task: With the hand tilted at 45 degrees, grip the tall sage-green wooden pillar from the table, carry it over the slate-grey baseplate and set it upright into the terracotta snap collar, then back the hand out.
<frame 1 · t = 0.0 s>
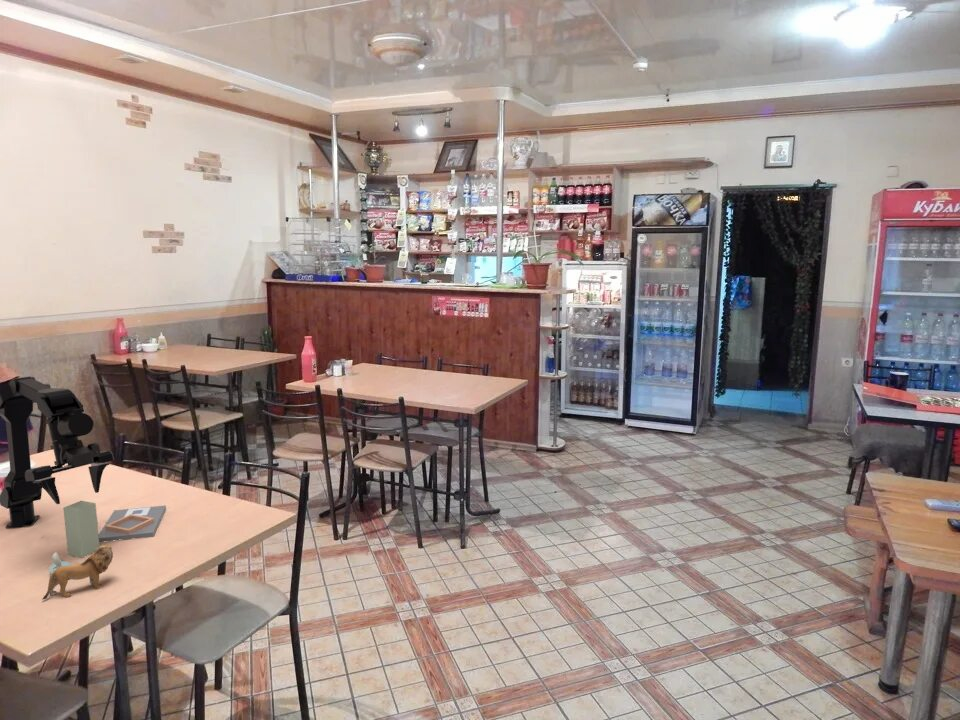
hand: (78, 498, 158), 15 cm above the table, tool pointing down, fingers open, 9 cm apart
lion figurine: (82, 589, 145), on the table
pillar: (84, 552, 162), on the table
pacifier: (64, 576, 151), on the table
snap collar: (130, 529, 175), resting on baseplate
baseplate: (133, 524, 179), on the table
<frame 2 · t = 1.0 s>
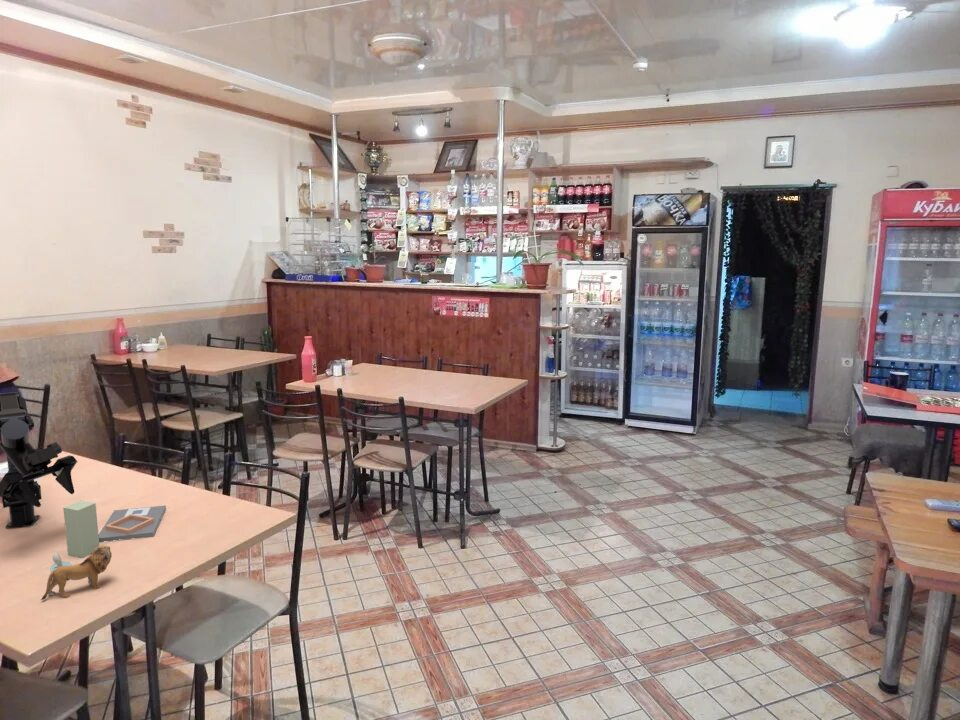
hand: (56, 499, 162), 13 cm above the table, tool tilted 45°, fingers open, 9 cm apart
nothing on the table moved.
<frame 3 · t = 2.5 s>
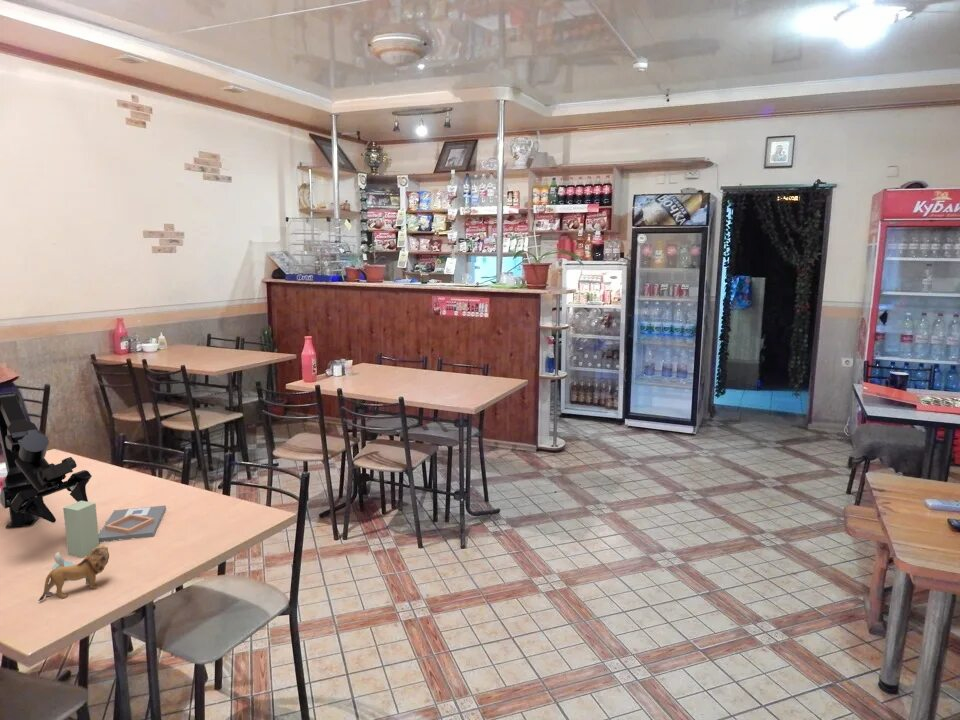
hand: (71, 514, 161), 10 cm above the table, tool tilted 45°, fingers open, 9 cm apart
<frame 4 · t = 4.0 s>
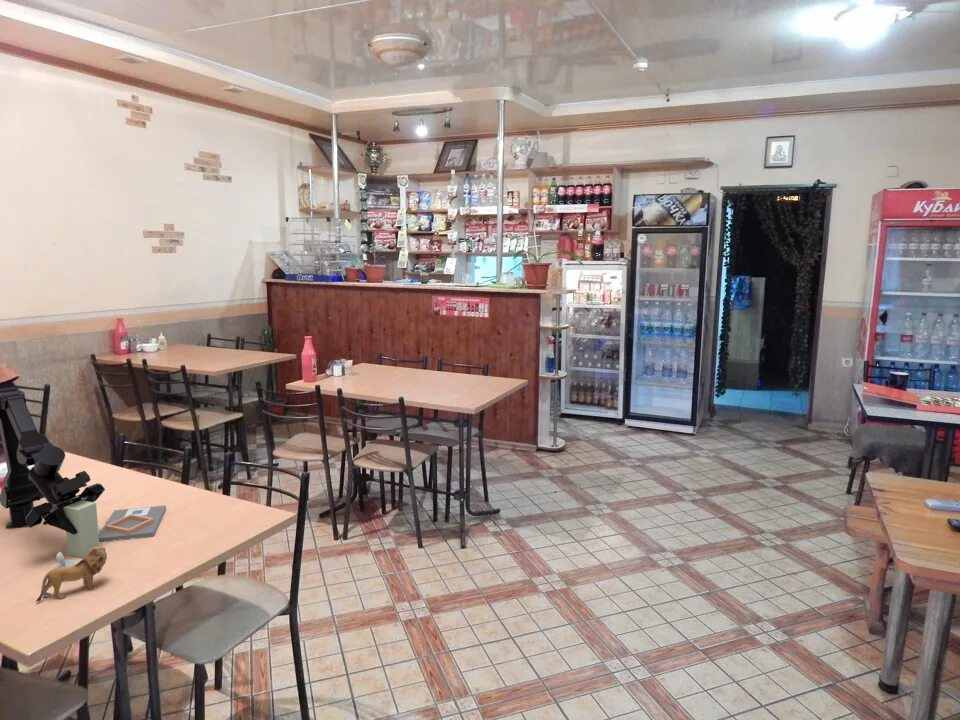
hand: (85, 529, 161), 7 cm above the table, tool tilted 45°, fingers closed on pillar, 5 cm apart
pillar: (84, 552, 162), on the table, touching gripper
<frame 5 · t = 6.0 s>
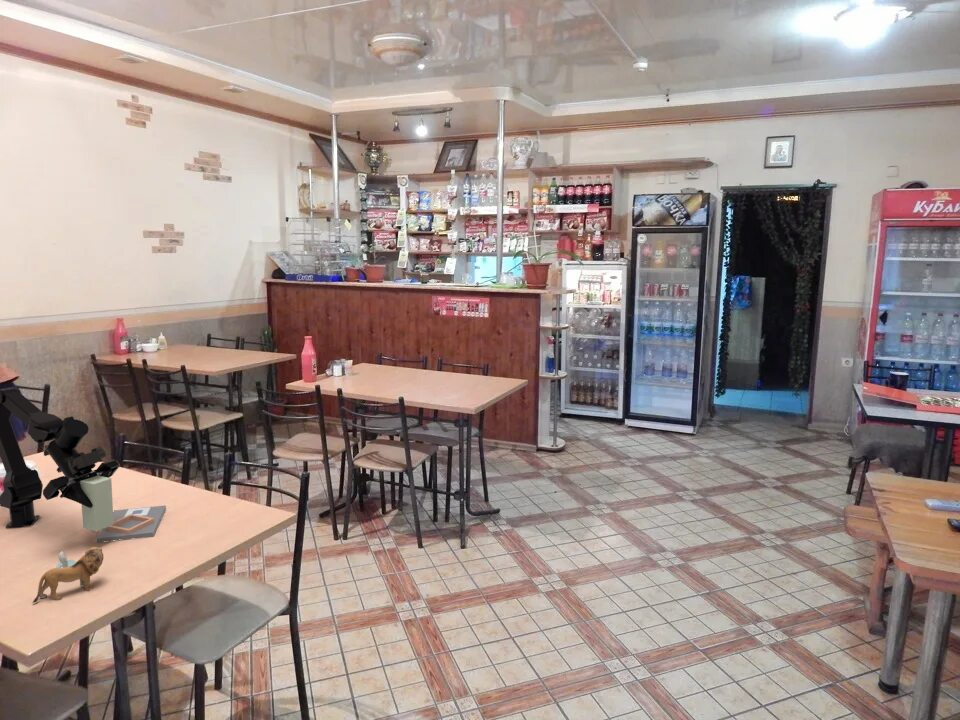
hand: (101, 503, 164), 12 cm above the table, tool tilted 45°, fingers closed on pillar, 5 cm apart
pillar: (98, 526, 166), point 5 cm above the table, touching gripper
when the fingers open (9 cm above the table, at t = 7.7 s): pillar drops 1 cm, resting on baseplate.
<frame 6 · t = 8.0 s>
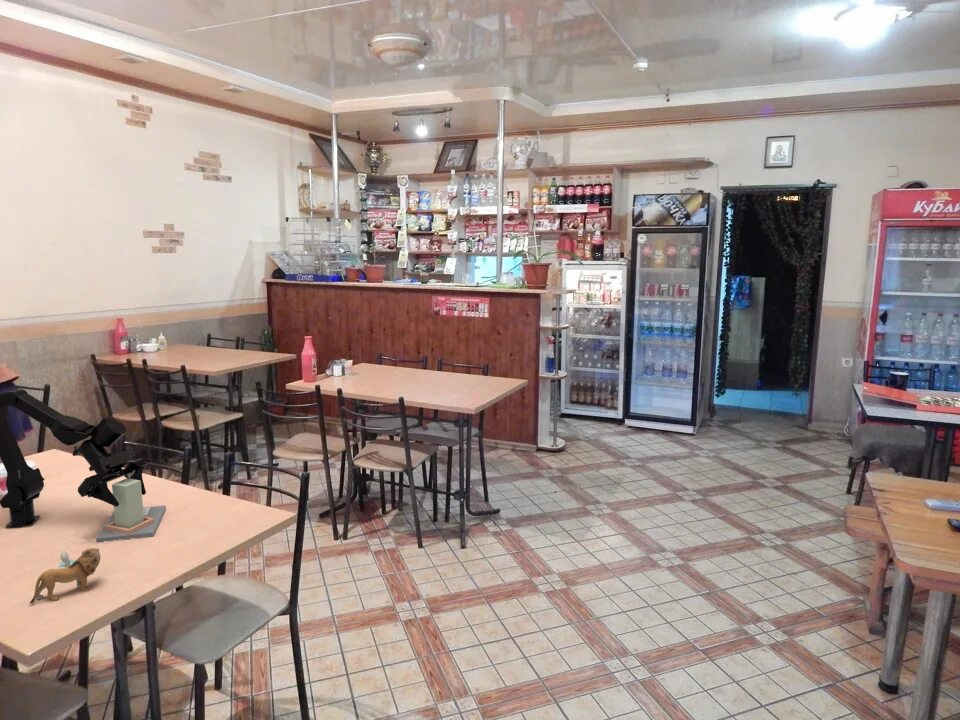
hand: (131, 499, 173), 9 cm above the table, tool tilted 45°, fingers open, 9 cm apart
pillar: (130, 525, 175), point 1 cm above the table, touching baseplate
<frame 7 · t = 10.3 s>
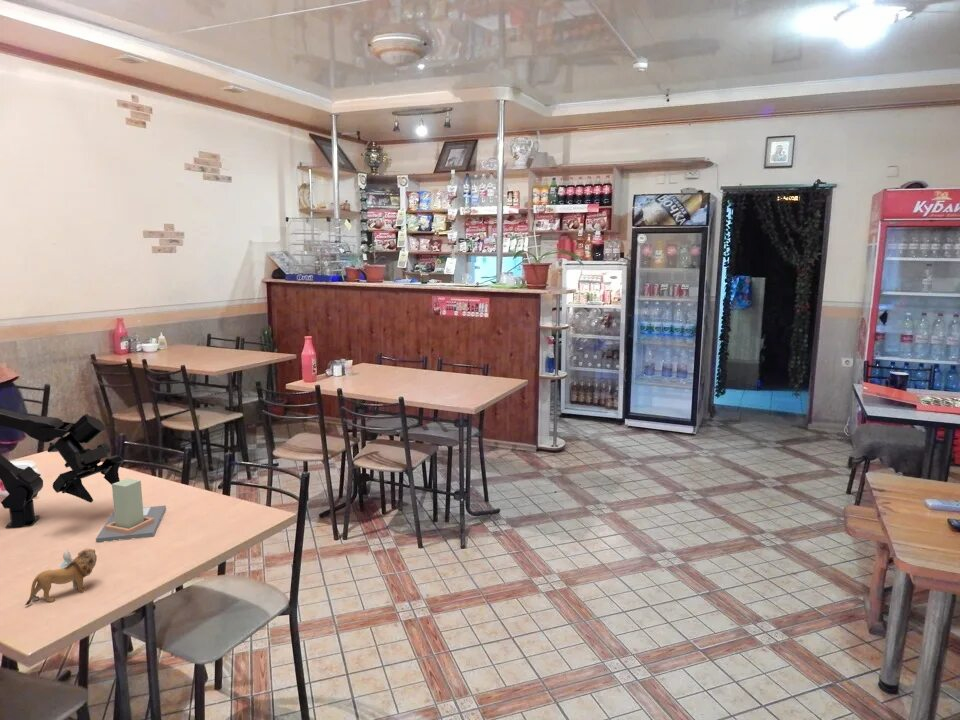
hand: (106, 495, 176), 9 cm above the table, tool tilted 45°, fingers open, 9 cm apart
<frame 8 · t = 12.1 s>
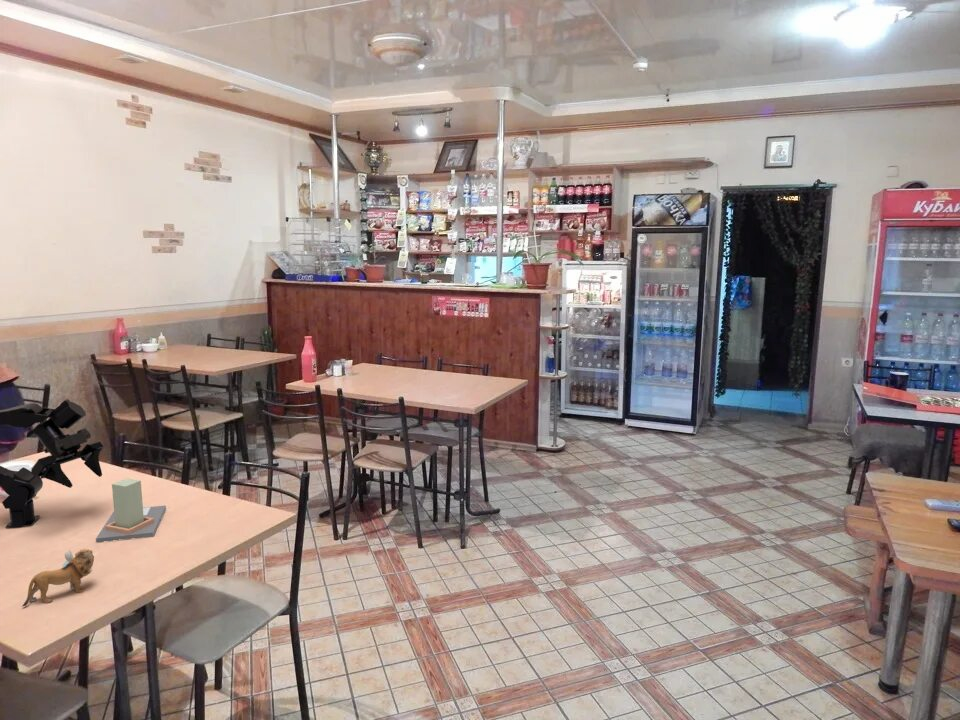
hand: (86, 481, 175), 14 cm above the table, tool tilted 45°, fingers open, 9 cm apart
at the end: pillar 0.0 cm off-centre on the snap collar, point 1.2 cm above the snap collar's base; pillar tilted 0°; the gripper is holding nothing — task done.
